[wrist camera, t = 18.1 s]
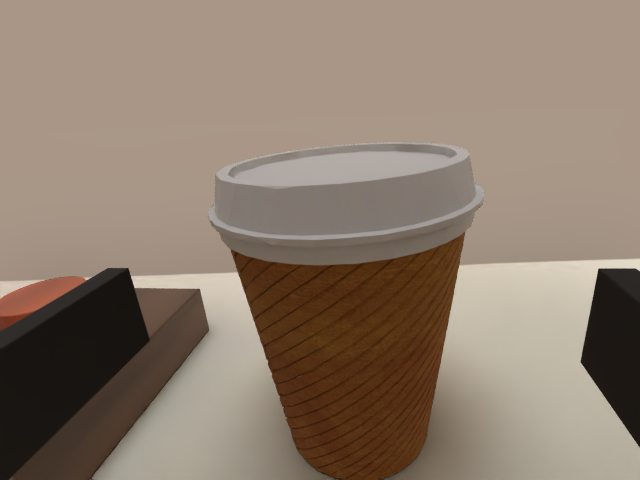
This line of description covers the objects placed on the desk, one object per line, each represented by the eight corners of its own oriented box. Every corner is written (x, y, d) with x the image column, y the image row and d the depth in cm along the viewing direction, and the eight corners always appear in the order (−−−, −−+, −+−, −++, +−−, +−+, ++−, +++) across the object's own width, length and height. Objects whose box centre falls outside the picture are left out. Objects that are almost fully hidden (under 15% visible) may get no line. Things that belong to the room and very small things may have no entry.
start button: (113, 304, 20) (104, 275, 19) (51, 350, 16) (36, 317, 16) (54, 303, 21) (43, 275, 20) (-19, 346, 17) (-35, 315, 17)
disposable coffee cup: (210, 453, 16) (138, 183, 12) (325, 335, 23) (306, 143, 19) (426, 593, 11) (434, 201, 7) (486, 385, 18) (508, 137, 14)
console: (209, 329, 25) (194, 263, 24) (44, 535, 13) (-11, 433, 12) (99, 325, 27) (77, 264, 25) (-132, 502, 15) (-202, 411, 13)
